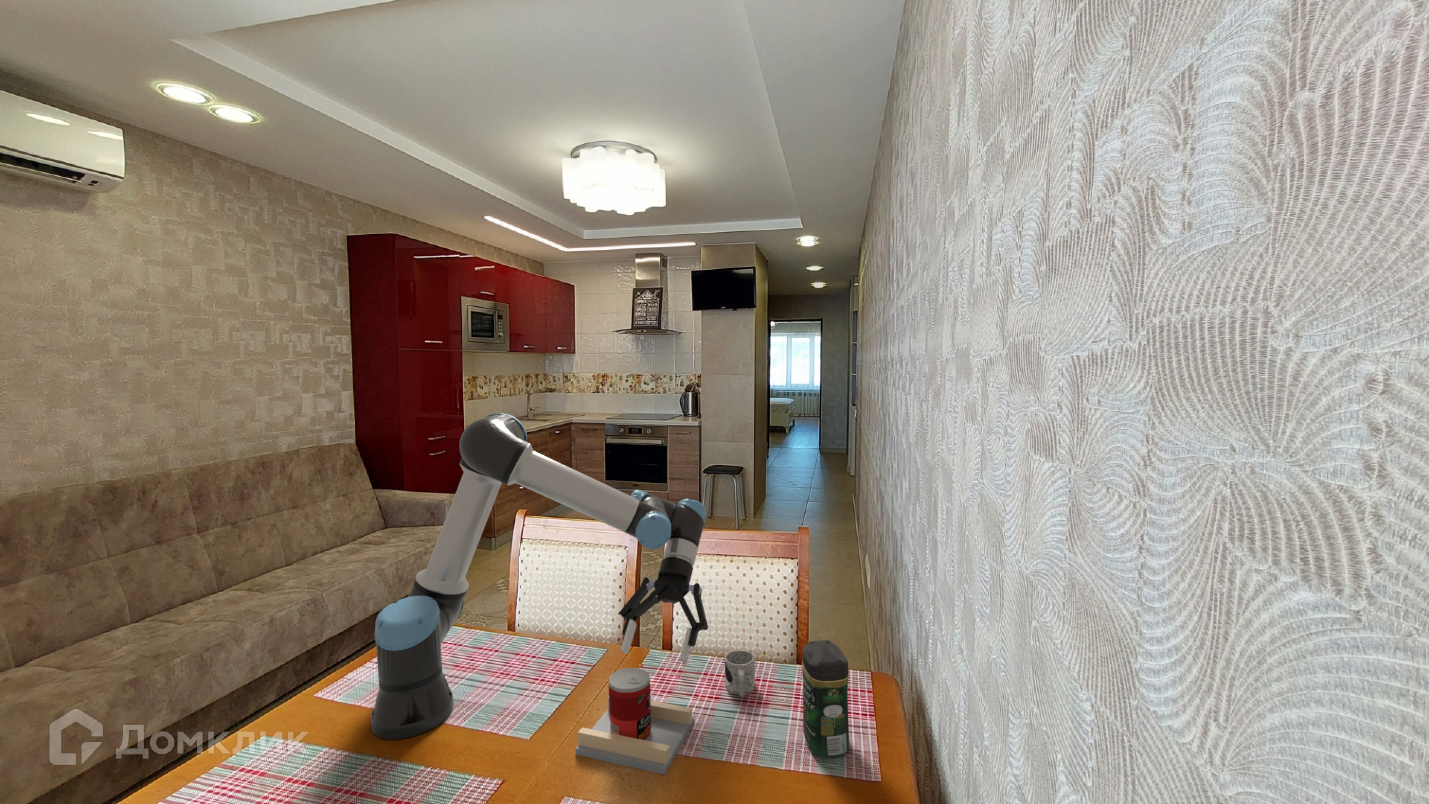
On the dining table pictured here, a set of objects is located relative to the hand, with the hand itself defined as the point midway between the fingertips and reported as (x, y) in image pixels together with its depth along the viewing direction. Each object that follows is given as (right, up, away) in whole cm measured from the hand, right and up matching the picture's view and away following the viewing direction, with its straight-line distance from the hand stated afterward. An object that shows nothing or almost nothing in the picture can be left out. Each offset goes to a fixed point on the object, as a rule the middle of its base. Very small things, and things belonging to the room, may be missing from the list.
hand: (653, 656), depth 119 cm
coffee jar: (+34, -11, -12) cm, 38 cm away
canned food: (-3, -10, -10) cm, 15 cm away
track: (-2, -11, -9) cm, 15 cm away
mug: (+19, -10, +6) cm, 22 cm away
